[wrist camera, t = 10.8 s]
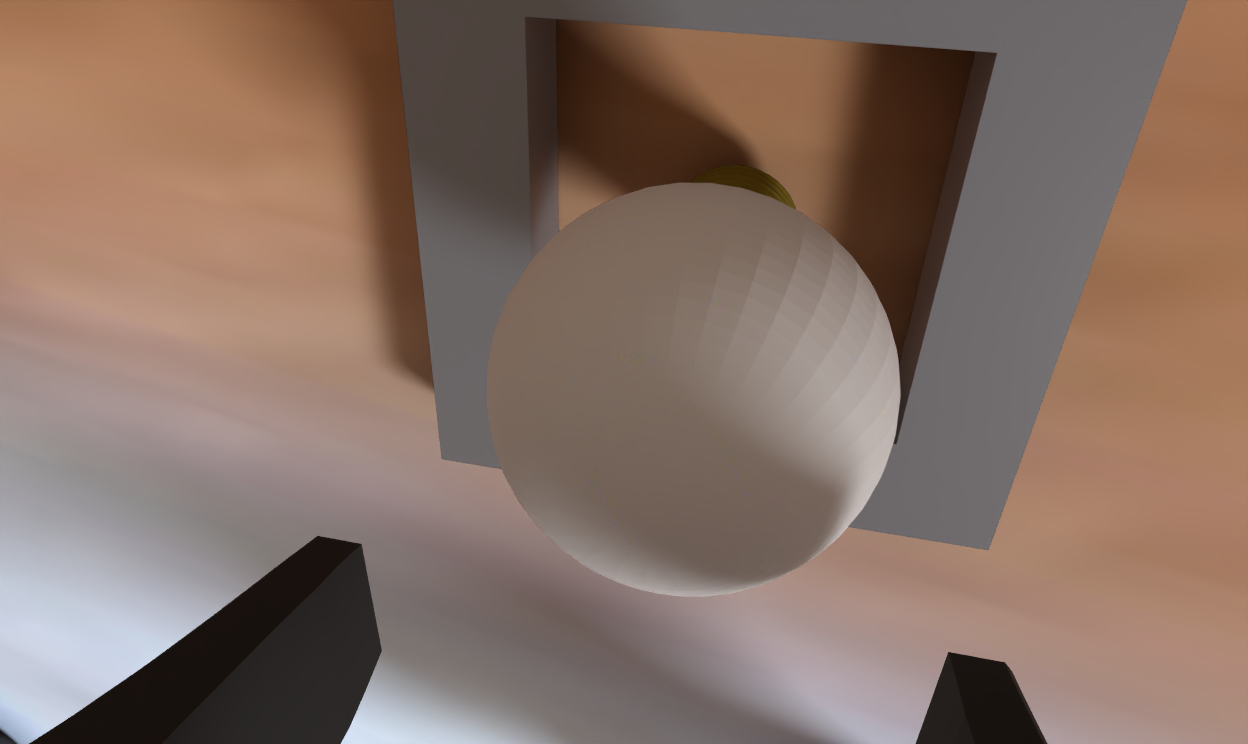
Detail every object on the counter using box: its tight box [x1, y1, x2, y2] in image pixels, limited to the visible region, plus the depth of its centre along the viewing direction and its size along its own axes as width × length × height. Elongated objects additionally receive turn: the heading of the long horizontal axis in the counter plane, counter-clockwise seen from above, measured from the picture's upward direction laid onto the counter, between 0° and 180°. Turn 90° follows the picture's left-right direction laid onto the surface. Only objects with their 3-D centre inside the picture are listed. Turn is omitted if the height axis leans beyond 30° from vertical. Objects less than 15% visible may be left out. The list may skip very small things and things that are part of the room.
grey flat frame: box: [392, 0, 1187, 550], centre depth 16 cm, size 17×13×2 cm
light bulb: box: [487, 165, 901, 597], centre depth 14 cm, size 6×6×10 cm
